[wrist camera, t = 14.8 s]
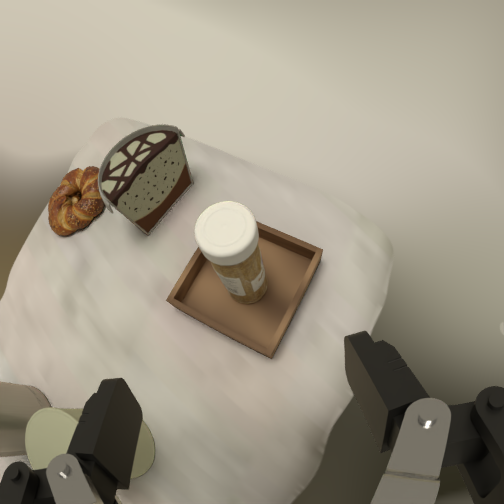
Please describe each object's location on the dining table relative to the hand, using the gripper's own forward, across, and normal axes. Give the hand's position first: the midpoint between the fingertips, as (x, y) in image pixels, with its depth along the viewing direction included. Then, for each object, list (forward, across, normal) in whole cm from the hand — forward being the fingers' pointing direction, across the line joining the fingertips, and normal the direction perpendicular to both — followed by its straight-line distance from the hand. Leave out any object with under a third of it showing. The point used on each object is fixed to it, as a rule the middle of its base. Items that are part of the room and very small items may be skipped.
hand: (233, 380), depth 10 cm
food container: (+34, +10, -2) cm, 35 cm away
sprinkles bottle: (+23, 0, +8) cm, 24 cm away
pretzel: (+37, +22, -4) cm, 43 cm away
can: (+12, +18, +20) cm, 29 cm away
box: (+23, 0, +8) cm, 25 cm away
